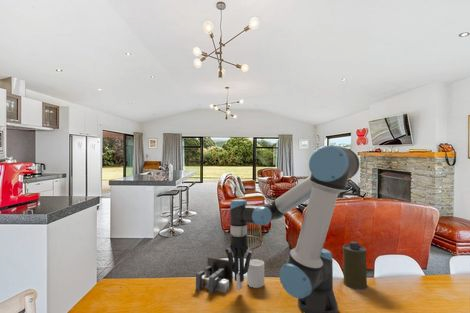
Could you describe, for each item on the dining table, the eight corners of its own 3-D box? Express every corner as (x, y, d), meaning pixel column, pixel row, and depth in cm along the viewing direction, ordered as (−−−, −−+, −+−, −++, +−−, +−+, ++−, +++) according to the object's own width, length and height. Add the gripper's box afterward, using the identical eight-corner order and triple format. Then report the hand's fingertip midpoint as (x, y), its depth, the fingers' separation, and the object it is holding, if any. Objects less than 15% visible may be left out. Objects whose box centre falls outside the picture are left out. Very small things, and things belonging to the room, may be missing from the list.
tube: (229, 288, 111) (229, 279, 111) (224, 293, 107) (224, 283, 107) (203, 282, 117) (203, 274, 117) (198, 286, 113) (198, 277, 113)
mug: (245, 277, 123) (245, 256, 123) (261, 277, 123) (261, 256, 124) (247, 288, 111) (247, 265, 112) (265, 288, 111) (265, 265, 112)
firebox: (232, 282, 117) (232, 261, 118) (218, 295, 105) (218, 271, 105) (208, 276, 123) (208, 256, 124) (192, 288, 111) (192, 266, 111)
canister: (362, 292, 108) (361, 247, 110) (339, 283, 116) (338, 241, 117) (371, 284, 116) (369, 242, 117) (348, 277, 123) (348, 237, 125)
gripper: (255, 233, 109) (256, 287, 107) (229, 231, 114) (230, 282, 113) (249, 237, 102) (249, 295, 100) (222, 234, 108) (222, 289, 106)
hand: (239, 288), depth 106 cm, fingers closed
